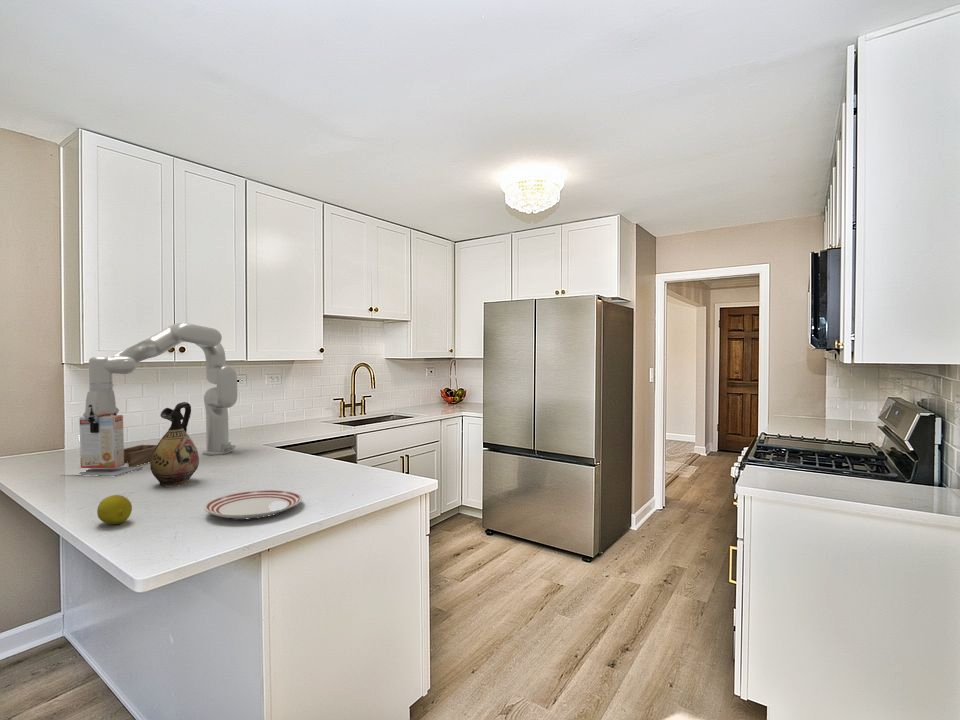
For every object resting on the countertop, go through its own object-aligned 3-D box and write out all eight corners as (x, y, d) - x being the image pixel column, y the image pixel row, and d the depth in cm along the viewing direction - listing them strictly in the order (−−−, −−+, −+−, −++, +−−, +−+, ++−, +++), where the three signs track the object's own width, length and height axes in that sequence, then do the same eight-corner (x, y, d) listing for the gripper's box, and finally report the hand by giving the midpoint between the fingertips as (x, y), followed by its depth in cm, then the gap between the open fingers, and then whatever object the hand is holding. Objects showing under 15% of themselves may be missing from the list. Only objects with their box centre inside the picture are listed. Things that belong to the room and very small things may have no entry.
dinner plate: (273, 492, 174) (273, 483, 174) (319, 508, 157) (319, 497, 157) (188, 513, 153) (188, 502, 153) (230, 533, 136) (230, 521, 136)
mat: (142, 468, 210) (142, 467, 210) (114, 477, 196) (114, 475, 196) (91, 467, 213) (91, 465, 213) (60, 475, 199) (59, 473, 199)
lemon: (136, 524, 143) (135, 496, 142) (102, 531, 137) (101, 502, 137) (126, 515, 150) (126, 489, 150) (94, 522, 144) (93, 494, 144)
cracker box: (125, 465, 207) (124, 414, 207) (114, 468, 201) (113, 416, 201) (91, 465, 208) (90, 414, 207) (79, 468, 202) (78, 416, 201)
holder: (164, 458, 230) (164, 445, 230) (131, 467, 211) (130, 453, 211) (142, 457, 232) (141, 444, 231) (106, 466, 213) (106, 452, 213)
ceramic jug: (177, 490, 177) (175, 405, 176) (140, 488, 180) (138, 404, 179) (212, 478, 194) (210, 400, 193) (177, 476, 197) (176, 400, 196)
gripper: (111, 385, 213) (112, 427, 213) (73, 389, 196) (74, 434, 196) (127, 385, 212) (127, 428, 212) (90, 389, 195) (91, 435, 195)
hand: (102, 431), depth 204 cm, fingers closed on cracker box, 6 cm apart
